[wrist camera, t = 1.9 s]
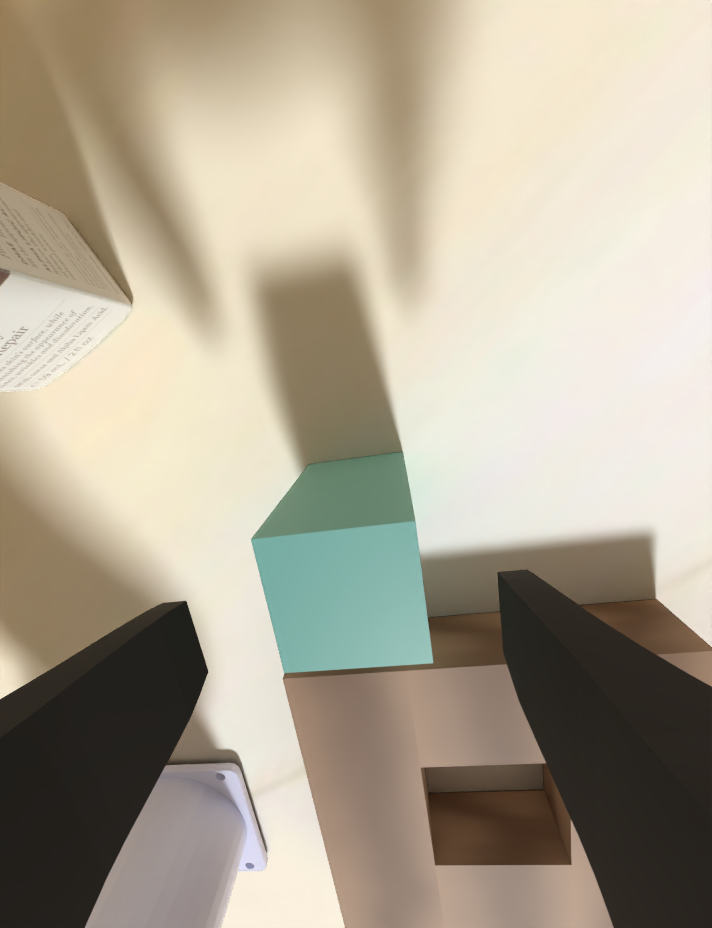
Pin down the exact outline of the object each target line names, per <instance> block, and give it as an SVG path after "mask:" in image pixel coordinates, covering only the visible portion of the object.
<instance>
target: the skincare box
mask: <svg viewBox="0 0 712 928" xmlns="http://www.w3.org/2000/svg"><path fill="white" fill-rule="evenodd" d="M131 309H132V304H131V302H130V301H129V300H128V298H127V297H126V295H125V294H124V293H123V291H122V290H121V289H120V287H119V286H118V284H117V283H116V282H115V280H114V279H113V277H112V276H111V275H110V274H109V272H108V271H107V269H106V268H105V267H104V266H103V264H102V263H101V262H100V260H99V259H98V258H97V256H96V255H95V254H94V252H93V251H92V250H91V248H90V247H89V246H88V244H87V243H86V242H85V241H84V240H83V238H82V237H81V236H80V234H79V233H78V232H77V230H76V229H75V228H74V226H73V225H72V224H71V223H70V221H69V220H68V219H67V218H66V216H65V215H64V214H63V213H62V212H60V211H58V210H56V209H54V208H52V207H50V206H48V205H46V204H44V203H42V202H40V201H38V200H36V199H34V198H32V197H30V196H28V195H26V194H24V193H22V192H20V191H18V190H16V189H14V188H12V187H10V186H8V185H6V184H4V183H2V182H0V392H16V391H34V390H38V389H41V388H43V387H46V386H47V385H48V384H50V383H51V382H53V381H54V380H55V379H56V378H58V377H59V376H60V375H61V374H63V373H64V372H65V371H67V370H68V369H69V368H70V367H72V366H73V365H74V364H75V363H76V362H78V361H79V360H80V359H81V358H82V357H84V356H85V355H86V354H87V353H88V352H89V351H90V350H92V349H93V348H94V347H95V346H96V345H97V344H98V343H99V342H100V341H102V340H103V339H104V338H105V337H106V336H107V335H108V334H109V333H110V332H111V331H112V330H113V329H114V328H116V327H117V326H118V325H119V324H120V323H121V322H122V321H123V320H124V319H125V318H126V317H127V315H128V314H129V313H130V311H131Z"/></svg>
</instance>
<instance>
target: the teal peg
mask: <svg viewBox="0 0 712 928" xmlns="http://www.w3.org/2000/svg"><path fill="white" fill-rule="evenodd" d="M251 541H252V545H253V549H254V553H255V557H256V561H257V565H258V569H259V573H260V577H261V581H262V585H263V589H264V593H265V597H266V601H267V605H268V609H269V613H270V617H271V621H272V625H273V629H274V633H275V637H276V641H277V646H278V650H279V654H280V658H281V662H282V666H283V670H284V673H295V672H310V671H325V670H340V669H355V668H370V667H385V666H400V665H415V664H430V663H433V656H432V648H431V641H430V633H429V625H428V617H427V609H426V601H425V593H424V585H423V577H422V570H421V562H420V554H419V546H418V538H417V530H416V522H415V516H414V511H413V505H412V500H411V494H410V489H409V483H408V478H407V472H406V467H405V461H404V455H403V452H397V453H389V454H382V455H374V456H367V457H360V458H352V459H345V460H337V461H330V462H322V463H315V464H309V465H308V466H307V467H306V469H305V470H304V471H303V473H302V474H301V475H300V477H299V478H298V479H297V480H296V482H295V483H294V484H293V486H292V487H291V488H290V490H289V491H288V492H287V493H286V495H285V496H284V497H283V499H282V500H281V501H280V502H279V504H278V505H277V506H276V508H275V509H274V510H273V512H272V513H271V514H270V515H269V517H268V518H267V519H266V521H265V522H264V523H263V525H262V526H261V527H260V528H259V530H258V531H257V532H256V534H255V535H254V536H253V538H252V539H251Z"/></svg>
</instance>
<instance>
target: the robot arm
mask: <svg viewBox="0 0 712 928" xmlns="http://www.w3.org/2000/svg"><path fill="white" fill-rule="evenodd" d="M498 586H499V601H500V615H501V630H502V644H503V653H504V656H505V660H506V663H507V666H508V669H509V672H510V675H511V679H512V682H513V685H514V688H515V691H516V694H517V697H518V700H519V702H520V705H521V707H522V709H523V712H524V714H525V716H526V719H527V721H528V723H529V725H530V728H531V730H532V732H533V735H534V737H535V739H536V741H537V744H538V746H539V748H540V750H541V753H542V755H543V757H544V759H545V762H546V764H547V766H548V768H549V771H550V773H551V775H552V777H553V780H554V782H555V784H556V786H557V789H558V791H559V793H560V796H561V798H562V800H563V802H564V805H565V807H566V809H567V811H568V814H569V816H570V818H571V820H572V823H573V825H574V827H575V829H576V832H577V834H578V836H579V838H580V841H581V843H582V846H583V848H584V851H585V853H586V856H587V858H588V860H589V863H590V865H591V868H592V870H593V873H594V875H595V878H596V880H597V883H598V886H599V889H600V891H601V894H602V897H603V900H604V902H605V905H606V908H607V911H608V913H609V916H610V919H611V922H612V924H613V927H614V928H712V687H711V686H710V685H708V684H706V683H704V682H702V681H701V680H699V679H697V678H695V677H693V676H692V675H690V674H688V673H686V672H685V671H683V670H681V669H680V668H678V667H676V666H675V665H673V664H671V663H670V662H668V661H666V660H664V659H663V658H661V657H659V656H658V655H656V654H654V653H653V652H651V651H649V650H648V649H646V648H644V647H643V646H641V645H639V644H638V643H636V642H635V641H633V640H631V639H630V638H628V637H627V636H625V635H623V634H622V633H620V632H619V631H617V630H616V629H614V628H612V627H611V626H609V625H608V624H606V623H605V622H603V621H602V620H600V619H599V618H597V617H596V616H594V615H593V614H591V613H590V612H588V611H587V610H585V609H584V608H582V607H581V606H579V605H578V604H576V603H575V602H574V601H572V600H571V599H569V598H568V597H566V596H565V595H563V594H562V593H560V592H559V591H558V590H556V589H555V588H553V587H552V586H550V585H549V584H548V583H546V582H545V581H543V580H542V579H540V578H539V577H538V576H536V575H535V574H533V573H532V572H530V571H528V570H518V571H507V572H498ZM207 674H208V669H207V666H206V663H205V659H204V656H203V653H202V650H201V647H200V643H199V640H198V637H197V634H196V631H195V627H194V624H193V621H192V618H191V615H190V611H189V608H188V605H187V602H186V601H180V602H170V603H162V604H160V605H158V606H156V607H154V608H152V609H150V610H148V611H146V612H144V613H143V614H141V615H139V616H137V617H136V618H134V619H132V620H131V621H129V622H127V623H126V624H124V625H122V626H121V627H119V628H117V629H116V630H114V631H112V632H111V633H109V634H108V635H106V636H104V637H103V638H101V639H99V640H98V641H96V642H95V643H93V644H91V645H90V646H88V647H87V648H85V649H83V650H82V651H80V652H78V653H77V654H75V655H74V656H72V657H70V658H69V659H67V660H66V661H64V662H62V663H61V664H59V665H57V666H56V667H54V668H52V669H51V670H49V671H47V672H46V673H44V674H42V675H41V676H39V677H37V678H36V679H34V680H32V681H31V682H29V683H27V684H25V685H24V686H22V687H20V688H19V689H17V690H15V691H14V692H12V693H10V694H9V695H7V696H5V697H3V698H2V699H0V928H221V926H222V923H223V919H224V916H225V913H226V909H227V906H228V902H229V899H230V896H231V892H232V889H233V885H234V882H235V879H236V875H237V872H238V871H262V870H264V869H265V868H266V866H267V862H268V857H267V854H266V851H265V848H264V844H263V841H262V838H261V835H260V831H259V828H258V825H257V822H256V818H255V815H254V812H253V809H252V805H251V802H250V799H249V796H248V792H247V789H246V786H245V783H244V779H243V776H242V773H241V770H240V768H239V766H238V765H237V764H234V763H210V764H183V765H166V764H167V762H168V760H169V758H170V756H171V754H172V752H173V751H174V749H175V747H176V745H177V743H178V741H179V739H180V737H181V735H182V733H183V731H184V729H185V727H186V725H187V724H188V722H189V720H190V718H191V715H192V713H193V710H194V708H195V705H196V703H197V700H198V698H199V695H200V693H201V690H202V687H203V685H204V682H205V679H206V676H207Z"/></svg>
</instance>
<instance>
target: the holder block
mask: <svg viewBox="0 0 712 928" xmlns="http://www.w3.org/2000/svg"><path fill="white" fill-rule="evenodd" d="M579 606H581V607H582V608H584V609H585V610H587V611H588V612H590V613H591V614H593V615H594V616H596V617H597V618H599V619H600V620H602V621H603V622H605V623H606V624H608V625H609V626H611V627H612V628H614V629H616V630H617V631H619V632H620V633H622V634H623V635H625V636H627V637H628V638H630V639H631V640H633V641H635V642H636V643H638V644H639V645H641V646H643V647H644V648H646V649H648V650H649V651H651V652H653V653H654V654H656V655H658V656H659V657H661V658H663V659H664V660H666V661H668V662H670V663H671V664H673V665H675V666H676V667H678V668H680V669H681V670H683V671H685V672H686V673H688V674H690V675H692V676H693V677H695V678H697V679H699V680H701V681H702V682H704V683H706V684H708V685H710V686H711V687H712V647H711V646H710V645H708V644H707V643H706V642H705V641H704V640H703V639H702V638H700V637H699V636H698V635H697V634H696V633H695V632H694V631H692V630H691V629H690V628H689V627H688V626H687V625H686V624H684V623H683V622H682V621H681V620H680V619H679V618H678V617H676V616H675V615H674V614H673V613H672V612H671V611H670V610H668V609H667V608H666V607H665V606H664V605H663V604H662V603H660V602H659V601H658V600H657V599H653V600H640V601H628V602H616V603H603V604H591V605H579ZM428 625H429V633H430V641H431V648H432V656H433V663H430V664H415V665H400V666H385V667H370V668H355V669H340V670H325V671H310V672H295V673H285V674H284V677H283V681H284V685H285V689H286V693H287V697H288V701H289V705H290V709H291V713H292V717H293V721H294V725H295V729H296V733H297V737H298V741H299V745H300V749H301V753H302V757H303V761H304V765H305V769H306V773H307V777H308V781H309V785H310V789H311V793H312V797H313V801H314V805H315V809H316V813H317V817H318V821H319V825H320V829H321V833H322V837H323V841H324V845H325V849H326V853H327V857H328V861H329V865H330V869H331V873H332V877H333V881H334V885H335V889H336V893H337V897H338V901H339V905H340V909H341V913H342V917H343V921H344V925H345V928H614V927H613V924H612V922H611V919H610V916H609V913H608V911H607V908H606V905H605V902H604V900H603V897H602V894H601V891H600V889H599V886H598V883H597V880H596V878H595V875H594V873H593V870H592V868H591V865H590V863H589V860H588V858H587V856H586V853H585V851H584V848H583V846H582V843H581V841H580V838H579V836H578V834H577V832H576V829H575V827H574V825H573V823H572V820H571V818H570V816H569V814H568V811H567V809H566V807H565V805H564V802H563V800H562V798H561V796H560V793H559V791H558V789H557V786H556V784H555V782H554V780H553V777H552V775H551V773H550V771H549V768H548V766H547V764H546V762H545V759H544V757H543V755H542V753H541V750H540V748H539V746H538V744H537V741H536V739H535V737H534V735H533V732H532V730H531V728H530V725H529V723H528V721H527V719H526V716H525V714H524V712H523V709H522V707H521V705H520V702H519V700H518V697H517V694H516V691H515V688H514V685H513V682H512V679H511V675H510V672H509V669H508V666H507V663H506V660H505V656H504V653H503V644H502V630H501V615H500V612H492V613H480V614H468V615H455V616H443V617H431V618H428ZM541 763H543V777H544V790H537V791H498V792H460V793H428V788H427V781H426V775H425V768H424V767H453V766H483V765H512V764H541Z"/></svg>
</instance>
